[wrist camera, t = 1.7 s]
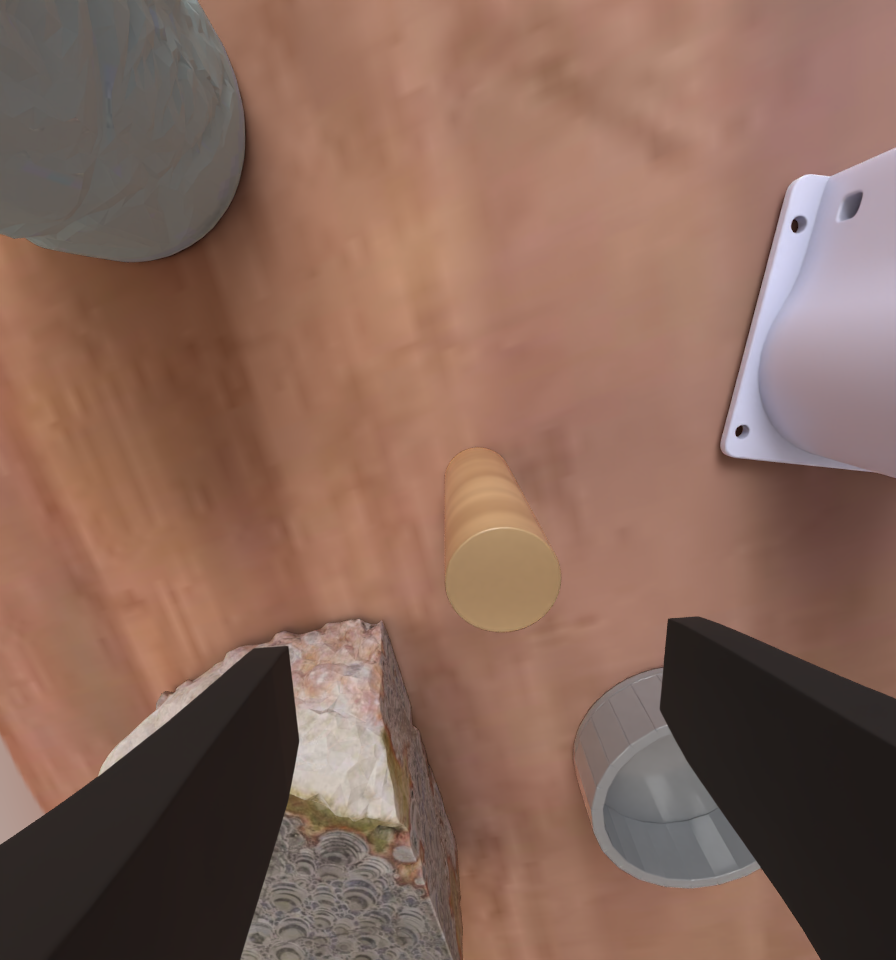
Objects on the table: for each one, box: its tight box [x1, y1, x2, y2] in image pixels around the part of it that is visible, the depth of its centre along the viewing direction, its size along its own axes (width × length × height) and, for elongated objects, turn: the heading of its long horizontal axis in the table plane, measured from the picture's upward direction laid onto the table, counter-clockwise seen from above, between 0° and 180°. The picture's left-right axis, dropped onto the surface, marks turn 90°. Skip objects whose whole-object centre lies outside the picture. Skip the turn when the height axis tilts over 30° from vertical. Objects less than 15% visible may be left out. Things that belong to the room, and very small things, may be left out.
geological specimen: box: [98, 619, 463, 960], centre depth 20 cm, size 11×6×15 cm
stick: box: [444, 447, 561, 632], centre depth 15 cm, size 3×3×8 cm
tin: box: [573, 668, 761, 888], centre depth 21 cm, size 9×9×3 cm
